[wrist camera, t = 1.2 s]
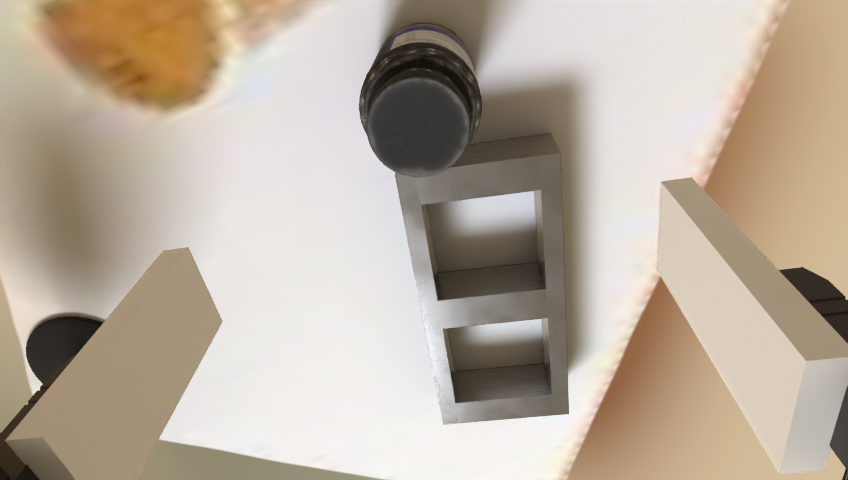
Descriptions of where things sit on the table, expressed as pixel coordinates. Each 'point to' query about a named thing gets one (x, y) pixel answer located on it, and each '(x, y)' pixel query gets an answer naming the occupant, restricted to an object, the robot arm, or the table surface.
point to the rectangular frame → (494, 282)
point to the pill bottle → (421, 101)
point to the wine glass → (57, 343)
